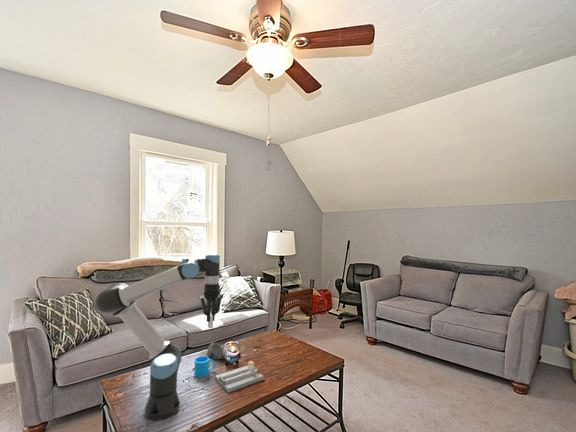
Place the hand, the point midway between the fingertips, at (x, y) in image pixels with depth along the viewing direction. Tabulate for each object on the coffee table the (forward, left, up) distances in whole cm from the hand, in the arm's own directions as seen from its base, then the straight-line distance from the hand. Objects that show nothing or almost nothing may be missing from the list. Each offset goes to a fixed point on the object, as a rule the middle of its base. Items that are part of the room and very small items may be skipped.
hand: (210, 327), depth 154 cm
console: (+18, -1, -32) cm, 37 cm away
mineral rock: (+18, +30, -33) cm, 48 cm away
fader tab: (+25, -1, -30) cm, 39 cm away
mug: (+5, +17, -33) cm, 37 cm away
